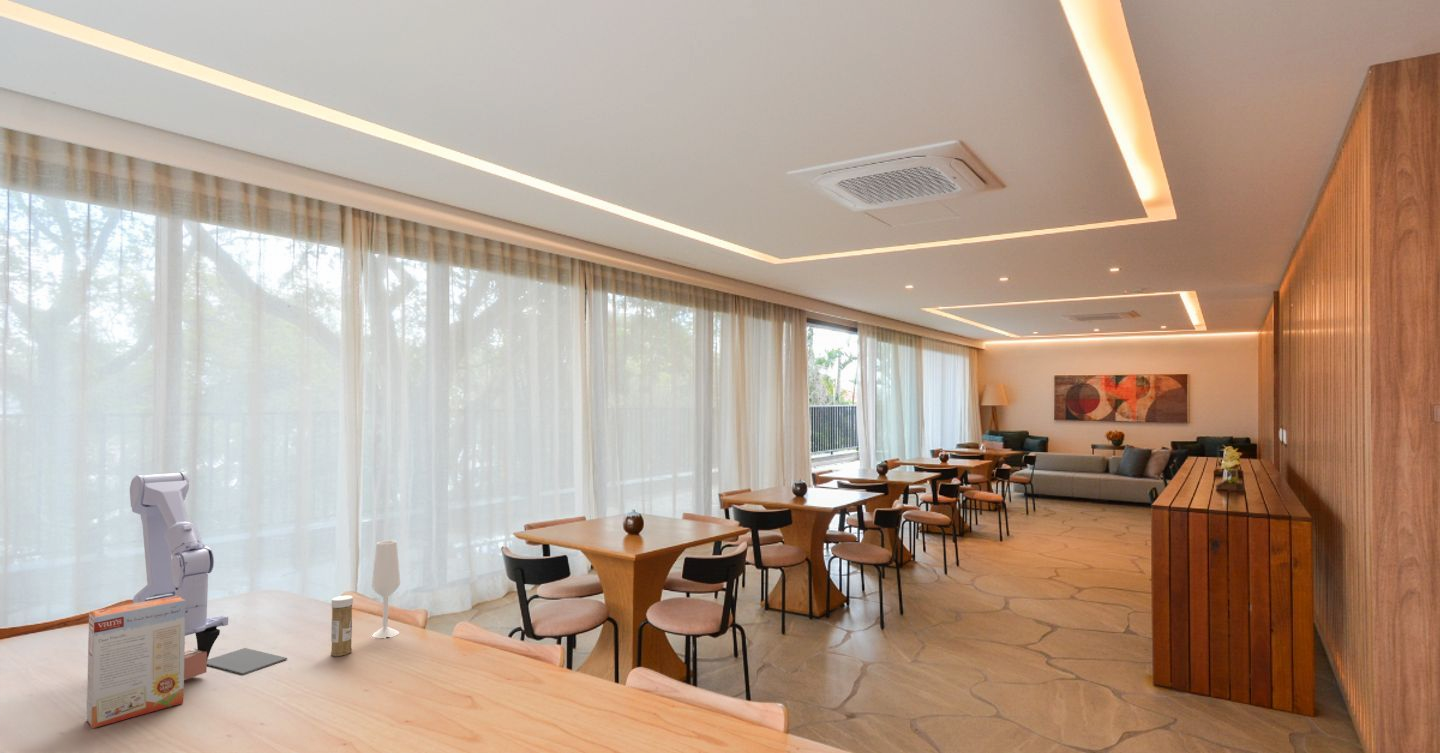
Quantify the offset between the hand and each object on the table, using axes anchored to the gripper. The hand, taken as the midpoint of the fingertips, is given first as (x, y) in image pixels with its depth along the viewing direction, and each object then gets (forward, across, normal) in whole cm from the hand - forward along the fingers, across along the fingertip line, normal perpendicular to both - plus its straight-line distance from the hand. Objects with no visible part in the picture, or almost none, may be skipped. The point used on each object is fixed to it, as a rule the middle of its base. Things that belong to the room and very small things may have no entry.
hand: (189, 667), depth 149 cm
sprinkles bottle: (+3, +24, -16) cm, 29 cm away
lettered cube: (+1, 0, 0) cm, 1 cm away
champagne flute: (+3, +38, -14) cm, 41 cm away
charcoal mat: (+3, +12, 0) cm, 12 cm away
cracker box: (+3, -14, -8) cm, 16 cm away
